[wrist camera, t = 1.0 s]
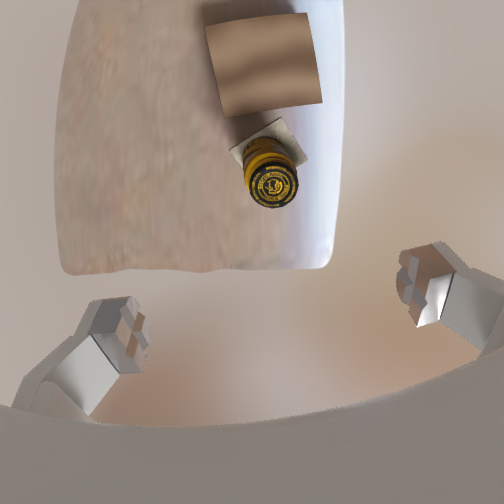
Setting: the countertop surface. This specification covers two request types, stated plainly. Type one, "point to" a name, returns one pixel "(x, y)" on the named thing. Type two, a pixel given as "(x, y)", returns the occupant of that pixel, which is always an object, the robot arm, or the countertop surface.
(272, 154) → the condiment
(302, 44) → the walnut block
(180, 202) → the countertop surface
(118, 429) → the robot arm
